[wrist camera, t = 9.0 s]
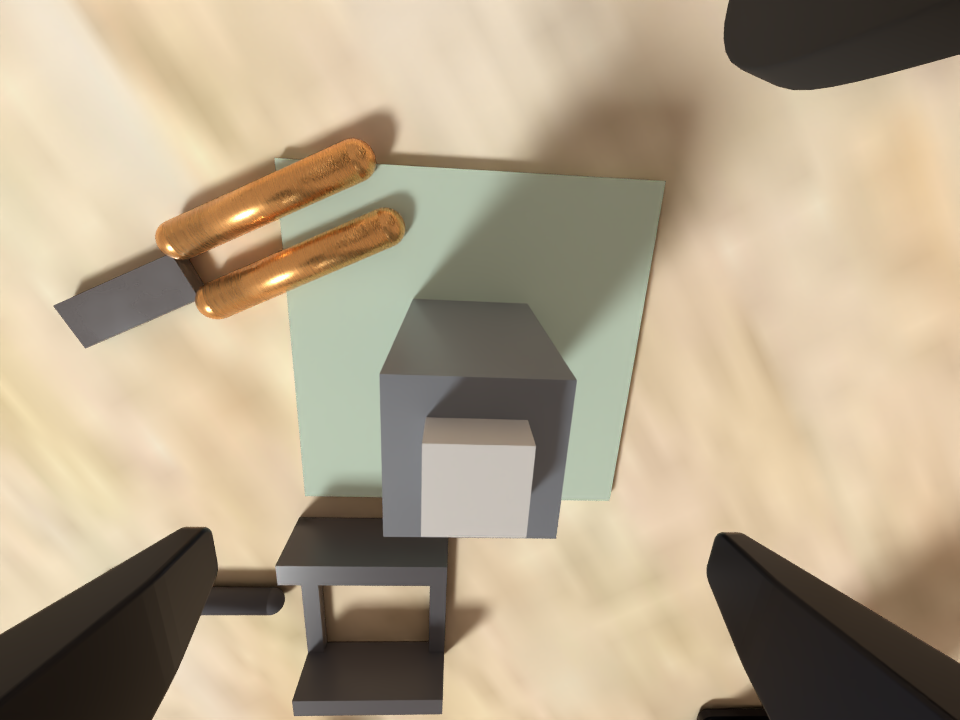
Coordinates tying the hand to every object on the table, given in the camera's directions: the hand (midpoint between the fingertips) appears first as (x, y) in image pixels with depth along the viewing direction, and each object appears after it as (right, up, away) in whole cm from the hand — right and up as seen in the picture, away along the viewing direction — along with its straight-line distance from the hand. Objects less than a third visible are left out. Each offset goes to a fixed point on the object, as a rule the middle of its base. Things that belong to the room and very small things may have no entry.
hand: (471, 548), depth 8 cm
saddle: (-5, -8, +15) cm, 18 cm away
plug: (0, +4, +11) cm, 11 cm away
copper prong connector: (-9, +7, +9) cm, 15 cm away
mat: (0, +4, +11) cm, 12 cm away
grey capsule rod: (-14, -8, +14) cm, 22 cm away
